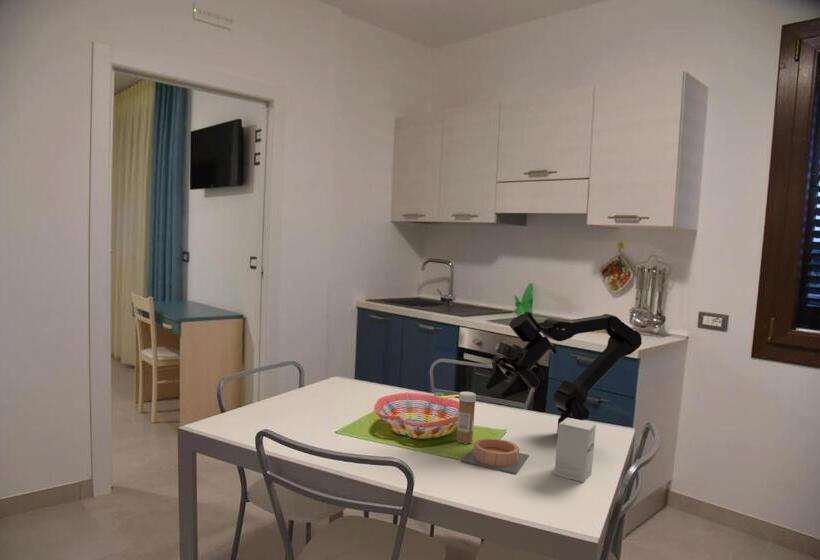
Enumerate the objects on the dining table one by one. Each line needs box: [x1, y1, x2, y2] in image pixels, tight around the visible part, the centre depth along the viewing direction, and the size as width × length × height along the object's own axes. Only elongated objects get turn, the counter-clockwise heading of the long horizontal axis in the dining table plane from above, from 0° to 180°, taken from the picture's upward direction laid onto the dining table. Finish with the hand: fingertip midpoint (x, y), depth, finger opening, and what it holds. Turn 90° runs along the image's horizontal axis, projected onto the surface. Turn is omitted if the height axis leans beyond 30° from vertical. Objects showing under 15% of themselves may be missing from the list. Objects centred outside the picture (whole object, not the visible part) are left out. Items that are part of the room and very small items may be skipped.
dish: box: [460, 437, 530, 475], centre depth 146 cm, size 14×14×3 cm
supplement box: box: [553, 418, 597, 483], centre depth 139 cm, size 7×7×13 cm
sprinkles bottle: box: [456, 391, 477, 445], centre depth 157 cm, size 5×5×14 cm
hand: (493, 392), depth 159 cm, fingers open, 9 cm apart
